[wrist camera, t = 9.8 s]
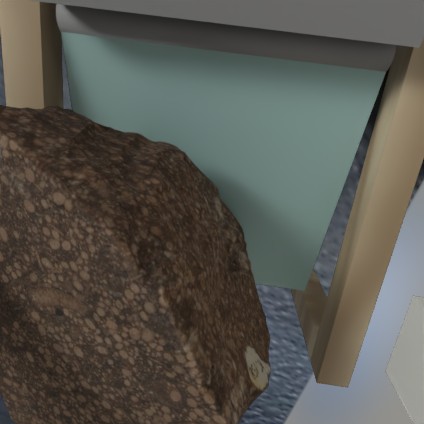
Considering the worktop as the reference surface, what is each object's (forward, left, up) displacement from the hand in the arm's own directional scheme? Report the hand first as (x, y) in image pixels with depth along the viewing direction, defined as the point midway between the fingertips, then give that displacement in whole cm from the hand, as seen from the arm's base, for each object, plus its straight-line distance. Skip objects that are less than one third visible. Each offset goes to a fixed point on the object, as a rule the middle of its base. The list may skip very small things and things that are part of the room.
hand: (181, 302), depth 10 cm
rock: (-2, 0, -7) cm, 7 cm away
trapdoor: (0, +5, -8) cm, 10 cm away
